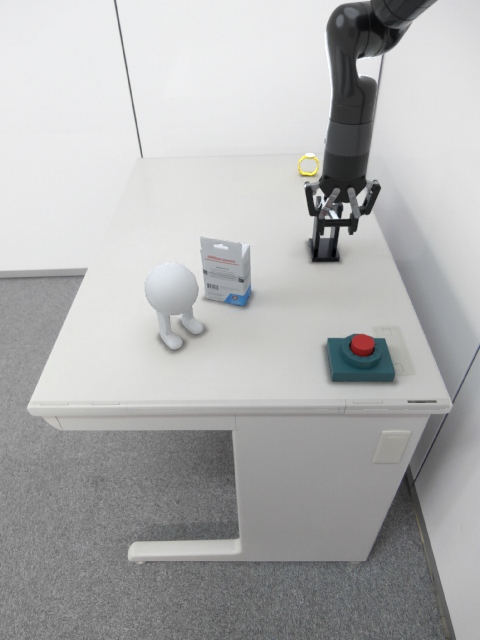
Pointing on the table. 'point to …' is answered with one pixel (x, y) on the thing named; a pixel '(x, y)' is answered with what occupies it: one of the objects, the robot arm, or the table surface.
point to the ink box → (226, 270)
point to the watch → (308, 156)
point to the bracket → (325, 239)
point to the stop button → (362, 345)
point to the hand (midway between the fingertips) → (335, 232)
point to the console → (359, 361)
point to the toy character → (173, 299)
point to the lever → (336, 219)
